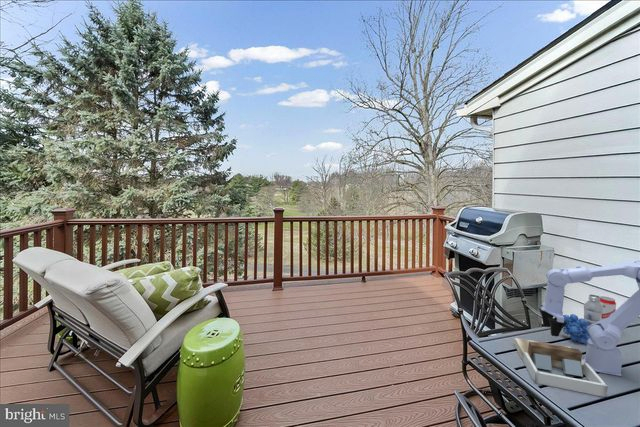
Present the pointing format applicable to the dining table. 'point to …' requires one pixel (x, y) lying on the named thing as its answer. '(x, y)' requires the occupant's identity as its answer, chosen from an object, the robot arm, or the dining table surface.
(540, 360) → the far tile
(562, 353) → the scraper bar
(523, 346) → the birch plate
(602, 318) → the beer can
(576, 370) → the near tile
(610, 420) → the dining table surface
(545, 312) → the robot arm
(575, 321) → the grapes
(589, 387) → the box
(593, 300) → the plastic bottle
